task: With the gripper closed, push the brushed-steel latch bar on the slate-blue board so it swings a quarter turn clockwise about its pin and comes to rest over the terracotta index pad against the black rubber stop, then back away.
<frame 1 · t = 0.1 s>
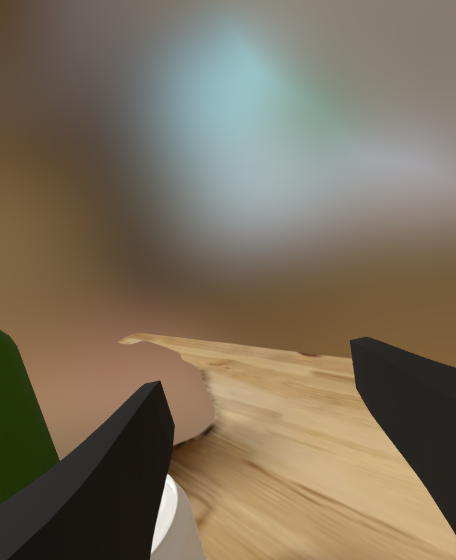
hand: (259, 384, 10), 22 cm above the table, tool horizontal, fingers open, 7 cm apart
wine bottle: (27, 502, 36), on the table
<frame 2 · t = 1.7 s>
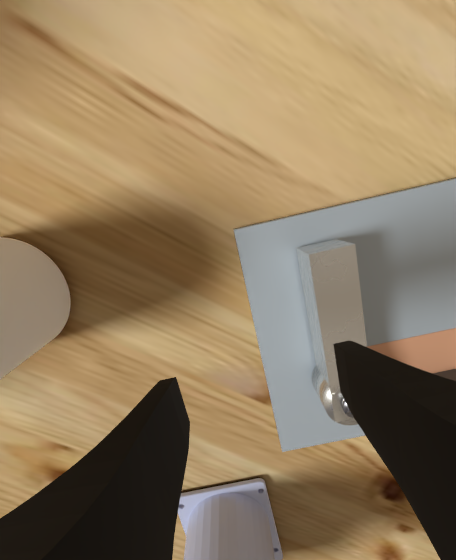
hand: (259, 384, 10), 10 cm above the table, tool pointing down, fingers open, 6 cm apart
latch board: (376, 320, 21), on the table
latch bar: (337, 336, 18), point 3 cm above the table, hinge at 0.0°
beverage can: (20, 292, 20), on the table
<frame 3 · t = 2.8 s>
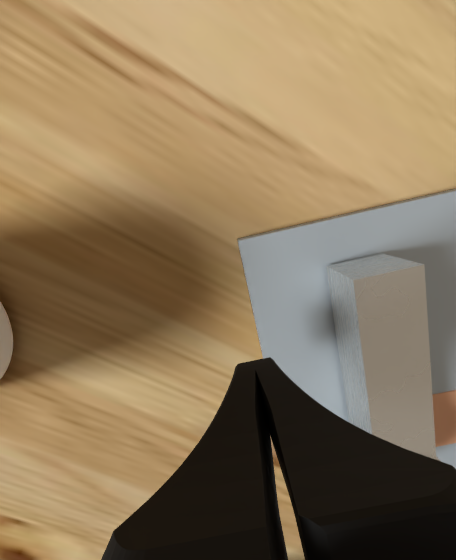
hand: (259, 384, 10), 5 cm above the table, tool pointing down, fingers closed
latch board: (429, 361, 16), on the table
latch bar: (385, 391, 13), point 3 cm above the table, hinge at 0.0°
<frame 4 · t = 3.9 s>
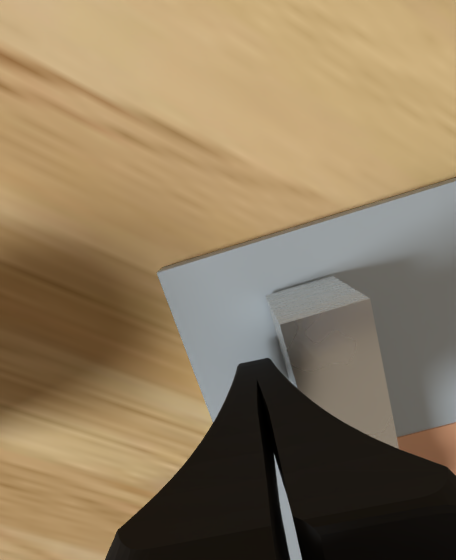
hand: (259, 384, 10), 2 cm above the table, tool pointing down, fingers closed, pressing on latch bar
latch board: (408, 391, 13), on the table
latch bar: (347, 445, 10), point 3 cm above the table, hinge at 0.0°, touching gripper
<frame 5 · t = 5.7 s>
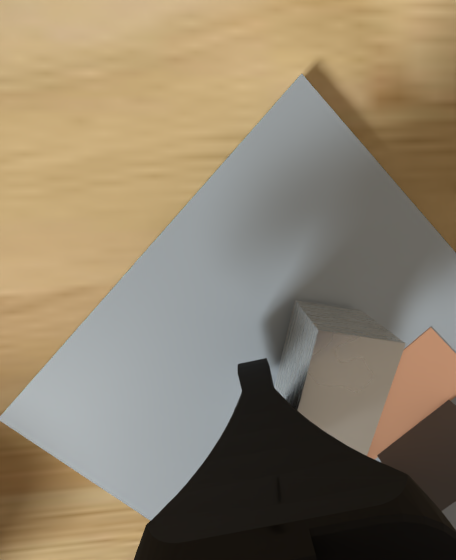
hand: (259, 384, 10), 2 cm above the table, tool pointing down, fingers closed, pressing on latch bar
latch board: (286, 394, 13), on the table
latch bar: (304, 466, 11), point 3 cm above the table, hinge at 56.0°, touching gripper
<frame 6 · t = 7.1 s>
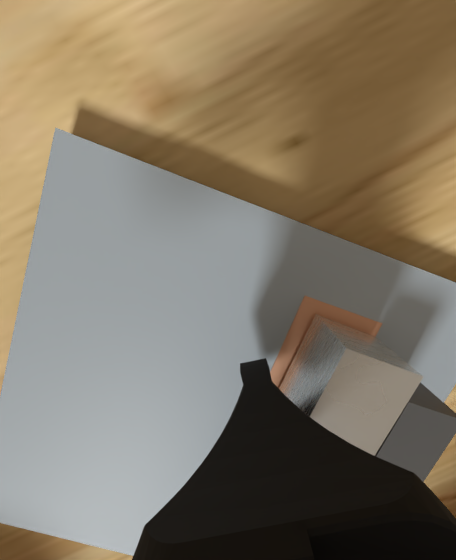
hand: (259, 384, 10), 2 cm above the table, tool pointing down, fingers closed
latch board: (217, 404, 13), on the table
latch bar: (293, 477, 11), point 3 cm above the table, hinge at 91.1°, touching gripper
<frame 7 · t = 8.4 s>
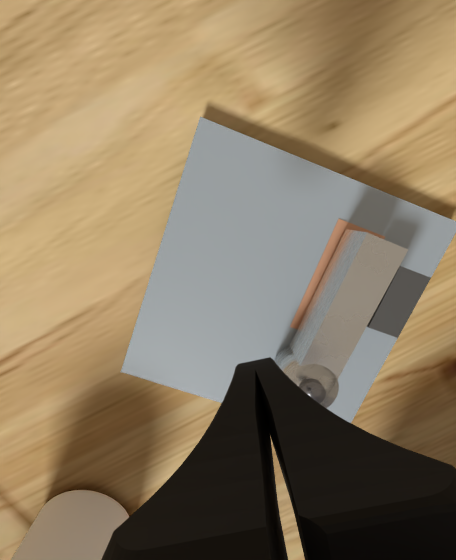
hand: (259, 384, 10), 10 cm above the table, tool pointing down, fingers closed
latch board: (278, 297, 21), on the table
latch bar: (332, 325, 18), point 3 cm above the table, hinge at 91.2°
beverage can: (90, 516, 26), on the table
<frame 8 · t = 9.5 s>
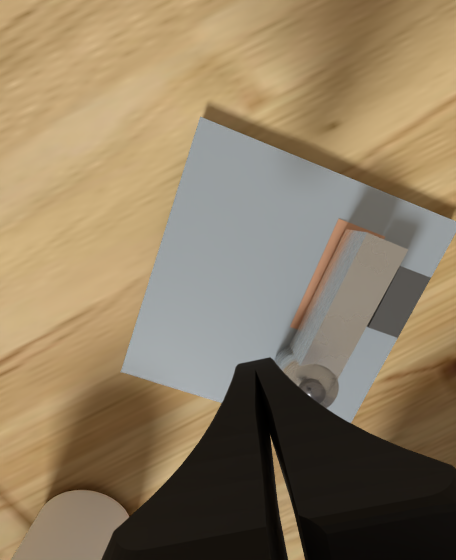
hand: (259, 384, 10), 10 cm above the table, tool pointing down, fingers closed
latch board: (278, 297, 21), on the table
latch bar: (332, 325, 18), point 3 cm above the table, hinge at 91.2°
beverage can: (90, 516, 26), on the table
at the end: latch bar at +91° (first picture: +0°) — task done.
